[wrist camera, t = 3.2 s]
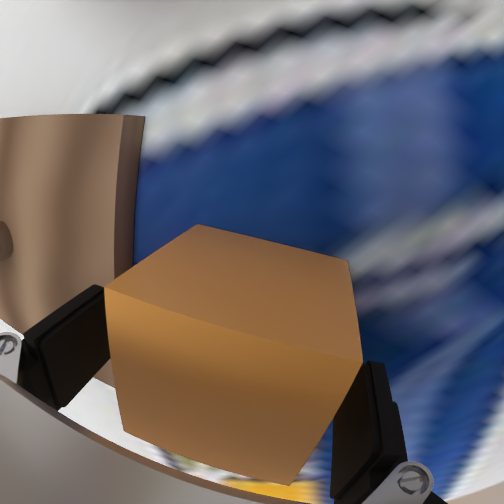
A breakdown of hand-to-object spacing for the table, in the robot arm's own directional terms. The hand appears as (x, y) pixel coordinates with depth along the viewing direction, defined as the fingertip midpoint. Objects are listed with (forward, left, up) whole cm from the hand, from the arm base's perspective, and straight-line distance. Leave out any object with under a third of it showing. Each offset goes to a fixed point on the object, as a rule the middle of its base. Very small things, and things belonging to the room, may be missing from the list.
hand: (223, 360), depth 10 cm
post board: (+15, -1, -3) cm, 15 cm away
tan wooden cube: (0, -1, -3) cm, 3 cm away
